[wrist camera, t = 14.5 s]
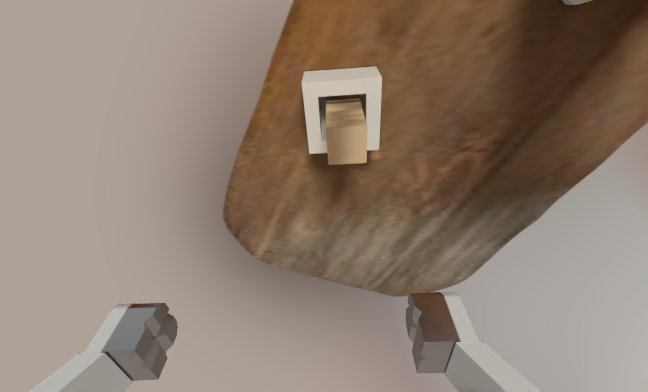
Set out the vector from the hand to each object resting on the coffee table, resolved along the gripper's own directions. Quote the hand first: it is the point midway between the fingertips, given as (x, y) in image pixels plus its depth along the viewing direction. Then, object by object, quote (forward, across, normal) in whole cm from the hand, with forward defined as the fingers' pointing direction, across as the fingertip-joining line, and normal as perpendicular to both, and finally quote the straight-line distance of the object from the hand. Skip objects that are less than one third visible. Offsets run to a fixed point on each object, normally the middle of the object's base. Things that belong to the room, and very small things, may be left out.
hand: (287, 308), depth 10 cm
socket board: (+34, -3, +5) cm, 35 cm away
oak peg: (+34, -3, +5) cm, 34 cm away
